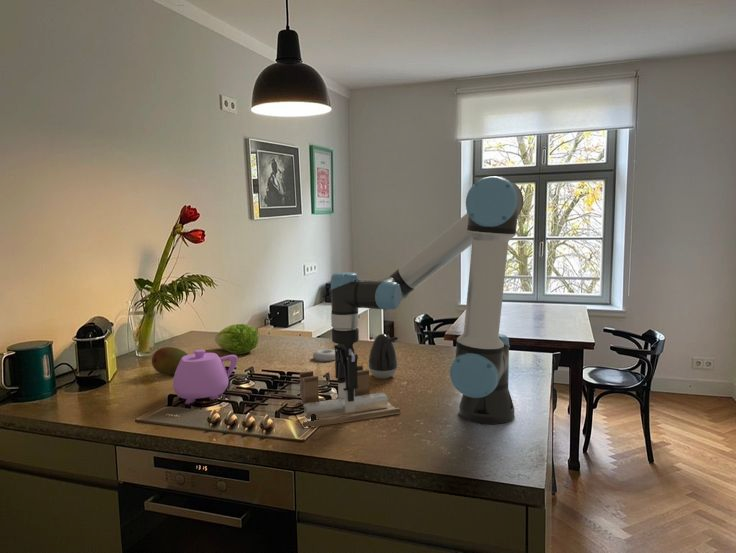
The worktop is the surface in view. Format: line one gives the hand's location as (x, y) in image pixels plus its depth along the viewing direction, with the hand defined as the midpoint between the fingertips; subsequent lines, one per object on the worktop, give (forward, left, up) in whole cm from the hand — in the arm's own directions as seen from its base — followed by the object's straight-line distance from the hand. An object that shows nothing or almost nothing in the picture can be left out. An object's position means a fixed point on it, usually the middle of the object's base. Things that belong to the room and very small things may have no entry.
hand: (346, 407), depth 149 cm
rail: (0, 0, -1) cm, 1 cm away
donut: (+59, -11, -2) cm, 60 cm away
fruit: (+62, +46, -2) cm, 77 cm away
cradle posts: (+11, 0, -2) cm, 11 cm away
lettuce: (+86, +21, -2) cm, 89 cm away
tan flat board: (0, 0, -2) cm, 2 cm away
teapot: (+33, +36, -2) cm, 49 cm away
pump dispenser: (+28, -23, -2) cm, 36 cm away
